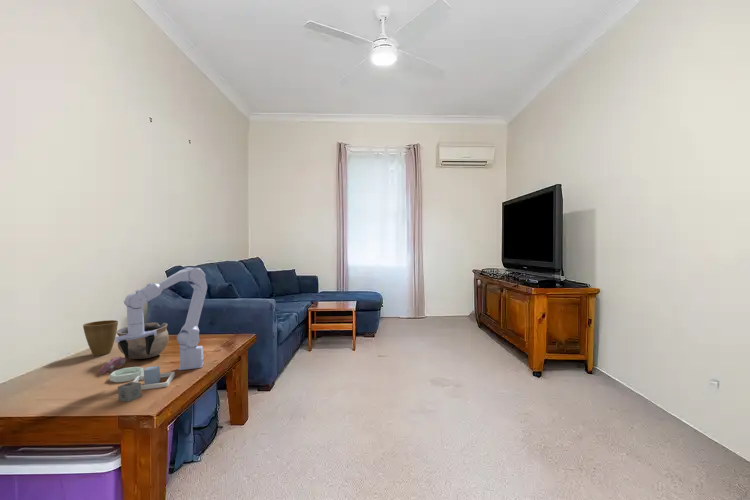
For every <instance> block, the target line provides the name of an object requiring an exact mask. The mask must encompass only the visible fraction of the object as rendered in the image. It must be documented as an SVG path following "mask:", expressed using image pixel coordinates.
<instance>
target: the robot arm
mask: <svg viewBox="0 0 750 500" xmlns="http://www.w3.org/2000/svg"><path fill="white" fill-rule="evenodd" d="M206 275H207V274H206V273H205V272H204V270H203V269H201V267H189V266H188V267H185V268H184V269H180V270H179V271H177V272H175V273H174V274H171V275H170V276H168V277H167V278H165V279H164V280H161V281H160V282H158V283H155V282H151V283H147V284H146V286H144V287H143V288H140V289H137V290H135V291H134V293H133V292H132V293H129V294H128V295H126V297H125V299H124V300H123V303H124V305H125V306H126V319H127V321H126V322H127V327H128V334H127V335H123V336H116V337H115V341H114V343H116V344H118V343H119V345H120V346H121V348H122V350H123V352H124V354H123V355H124V359H125V360H129V355H128V343H127V340H132V339H138V338H143V337H145V341H146V354H147V355H149V354H150V350H151V346H152V343H153V341H154V339H155V337H154V336H156V335H157V331H156V330H154V331H146V332H144V324H145V319H144V306H145V304H146V303H148V302H149V301H151V300H153V299H155V298H157V297H158V296H160V295H161V294H162V292H163V290H165V289H167V288H170V287H172V286H173V285H175V284H177V283H179V282H186V283H187V284H189V285H190V286H191V288H193V292H192V295H191V296H192V297H191V300H190V303H189V307H188V310H187V311H188V312H187V315H186V319H185V323H184V324H183V326H181V329H180V331H179V333H178V334H177V335H176V342H177V343H178V344H179V363H180V364H179V367H178V369H177V371H182V370H185V371H186V370H192V369H201V368H202V367H203V365H204V363H205V361H204V360H205V359H204V348H203V345H199V342H200V329H199V322H200V319H201V315H202V310H203V307H204V303H205V300H206V295H207V290H208V283H207V279H206Z"/></svg>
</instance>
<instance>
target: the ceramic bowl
mask: <svg viewBox="0 0 750 500" xmlns="http://www.w3.org/2000/svg"><path fill="white" fill-rule="evenodd" d="M167 328H168V323H166V322H162V324H161V325H160V324H159V322H144V332H146V331H154V330H156V331H157V335H156V336H154V337H155V339H154V341H153V343H152V346H151V350H150V354H149V355H147V354H146V341H145V337H143V338H138V339H132V340H127V343H128V355H129V358H130V359H131V360H132V359H133V360H144V359H149V358H154V357H157V356H158V355H160V354H161V353H162V352H163V351H164V350H165V348H166V347H167V345H168V343H169V340H170V338H169V337H170V336H169V331H168V330H167ZM127 334H128V326H125V327H122V328H119V329H117V332H116V336H117V337H119V336H123V335H127ZM117 348H118V350H119V351H120V353H122V354H123V355H124V352H123V350H122V348H121V346H120V345H119V343H117Z"/></svg>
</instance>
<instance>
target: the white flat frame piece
mask: <svg viewBox="0 0 750 500" xmlns="http://www.w3.org/2000/svg"><path fill="white" fill-rule="evenodd" d="M175 374H176V373H175V371H170V372H160V379H162V378H167V377H168V378H167V380H166V381H165V382H159V383H155V384H147V385H144V384H141V391H142V390H151V389H158V388H165V387H166V388H167V387H169V385H170V384H171V382H172V380H173V379H174V377H175ZM139 381H144V374H143V375H142V376H137V377H136V379H134V380H132V382H136V383H139Z"/></svg>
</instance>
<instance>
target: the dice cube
mask: <svg viewBox="0 0 750 500" xmlns="http://www.w3.org/2000/svg"><path fill="white" fill-rule="evenodd" d="M141 385H142V383H141V382H138V383H136V382H133V381H128V382H125V383H124V384H121V385H118V386H117V395H118V396H117V397H118V401H119V402H120V401H121V402H127V403H130V402H132V401H134V400H137V399H140V398H142V390H141Z"/></svg>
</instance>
